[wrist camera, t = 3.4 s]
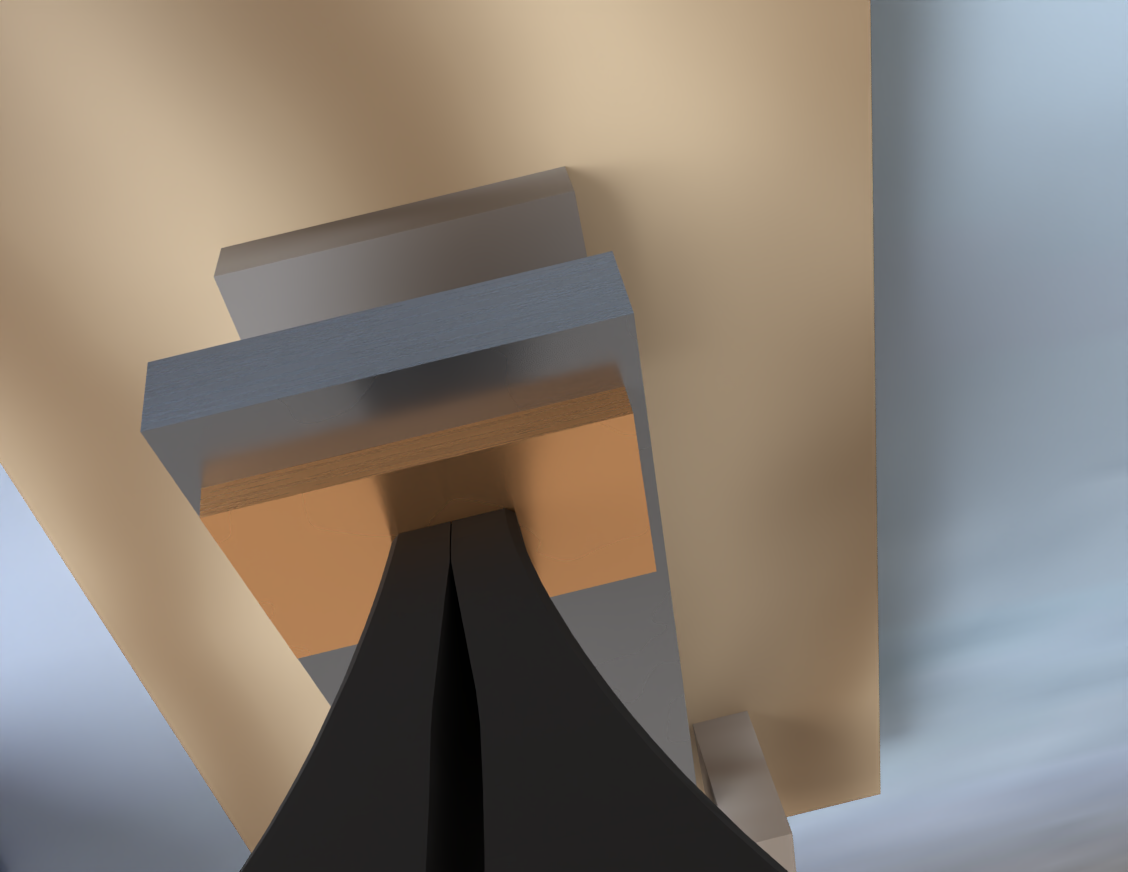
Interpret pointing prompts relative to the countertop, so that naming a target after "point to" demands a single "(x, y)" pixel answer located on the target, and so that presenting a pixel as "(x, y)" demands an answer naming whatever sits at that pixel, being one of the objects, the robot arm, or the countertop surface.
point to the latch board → (448, 261)
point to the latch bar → (438, 464)
